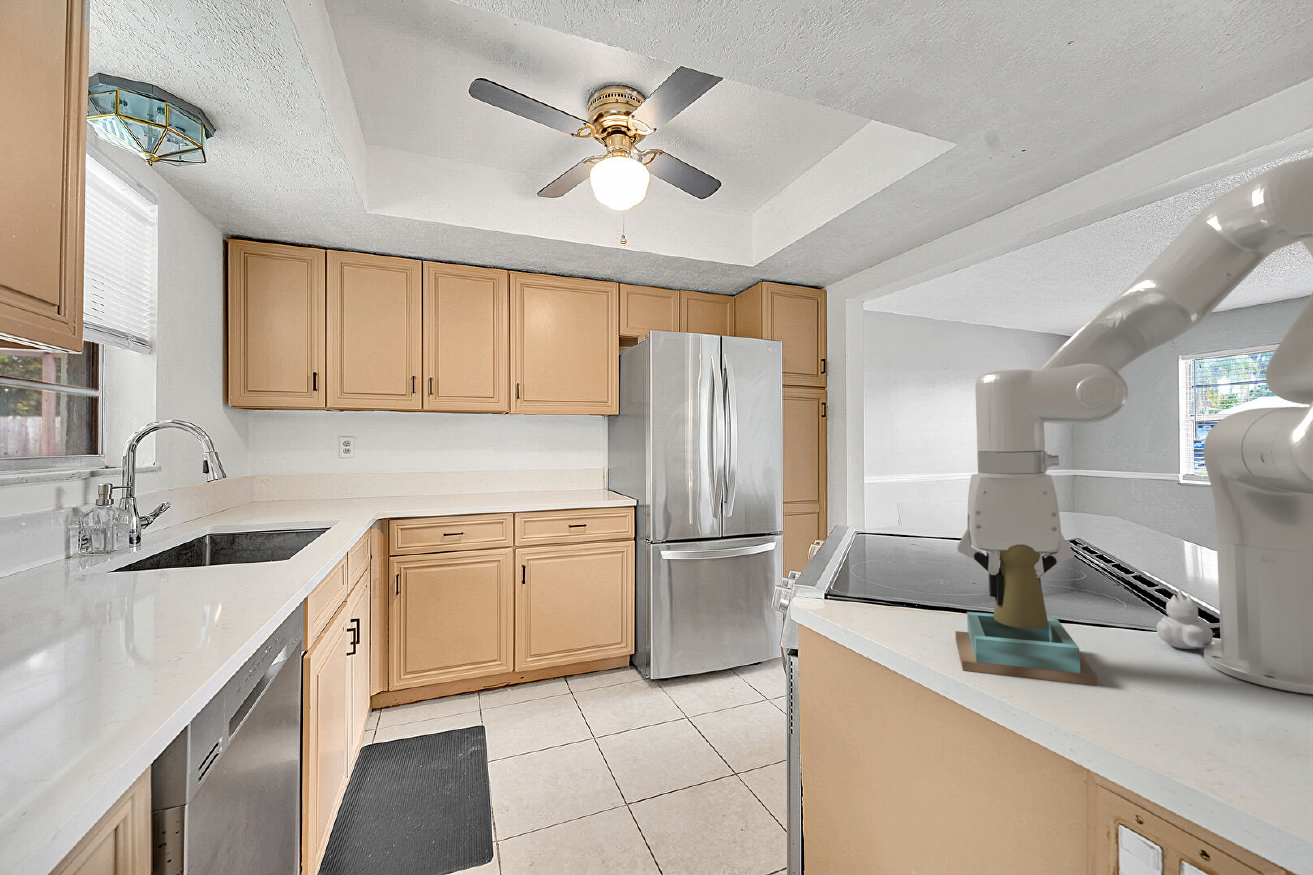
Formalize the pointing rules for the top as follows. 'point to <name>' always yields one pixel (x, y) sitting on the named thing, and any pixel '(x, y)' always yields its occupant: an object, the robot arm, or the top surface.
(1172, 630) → the rubber duck
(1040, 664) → the board
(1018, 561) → the cork
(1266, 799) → the top surface
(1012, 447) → the robot arm
